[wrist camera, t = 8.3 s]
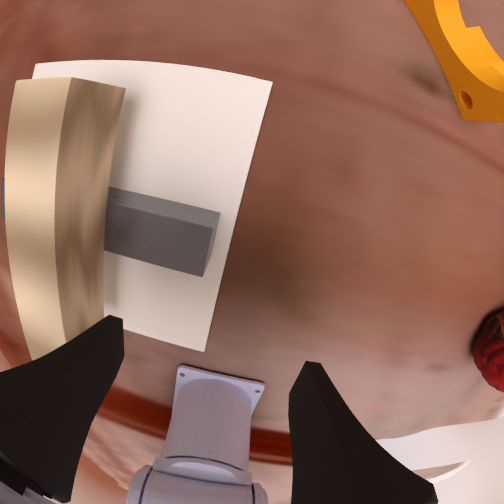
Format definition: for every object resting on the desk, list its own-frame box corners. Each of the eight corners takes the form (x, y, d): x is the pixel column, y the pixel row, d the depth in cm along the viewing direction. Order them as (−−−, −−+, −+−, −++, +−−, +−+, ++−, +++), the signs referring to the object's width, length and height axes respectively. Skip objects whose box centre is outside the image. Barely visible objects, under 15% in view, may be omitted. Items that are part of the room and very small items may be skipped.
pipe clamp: (493, 106, 15) (549, 110, 9) (461, 119, 16) (520, 125, 10) (426, -25, 11) (467, -55, 5) (386, -21, 12) (424, -59, 6)
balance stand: (206, 344, 23) (197, 378, 20) (32, 285, 22) (8, 306, 19) (272, 84, 16) (274, 72, 12) (43, 65, 14) (10, 60, 11)
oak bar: (105, 332, 19) (74, 380, 14) (66, 317, 18) (32, 359, 14) (126, 88, 12) (71, 76, 8) (75, 86, 12) (16, 80, 7)
